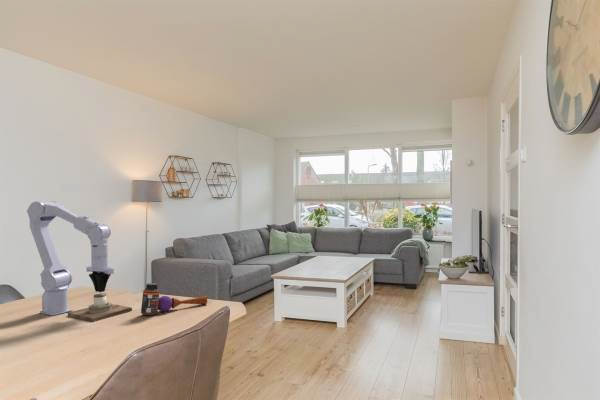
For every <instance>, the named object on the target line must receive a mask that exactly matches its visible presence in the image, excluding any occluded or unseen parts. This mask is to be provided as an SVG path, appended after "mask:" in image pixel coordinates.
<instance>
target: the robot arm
mask: <svg viewBox="0 0 600 400" xmlns="http://www.w3.org/2000/svg"><path fill="white" fill-rule="evenodd" d="M26 213H27V215H28V218H29V229H30V232H31V234H32V237H33V240H34V243H35V246H36V249H37V252H38V255H39V257H40V260H41V263H42V266H43V267H44V268H43V270H42V271H41V273H40V279H41V282H40V285H41V287H42V288H43V290H44V291H43V293H42V295H41V311H40V310H39V314H43V315H49V316H57V315H60V314H61V315H62V314H65V313H69V312H73V311H74V309H72V308H69V291H68V290H69V288H70V287H69V286H70V285H71V283H72V281H73V275H72V273H71V272H70V271H69V270H68V268H67V266H66V265H64V264H62V263H61V262H60V260H59V257H58V253H57V251H56V247H55V245H54V242H53V240H52V239H53V238H52V237H51V234H50V231H49V227H48V226H49V225H50V223H52V221H54V219H55V218H56V217H58V218H60V219H61V220H64V221H66V222H69V223H70V224H73V228H74V229H75V230H77V231H79V232H81V233H83V234H84V235H87V238H88V239H89V241H90V242H89V243H90V249H91V250H90V251H91V253H90V254H91V255H90V256H91V261H90V263H91V265H89V266H85V267H86V271H85V272H87V273H88V272H89V274H88V277H89V278H90V280H91V282H92V284H93V288H94V291H95V292H96V293H105V291H106V289H107V284H108V281H109V278H110V277H111V276H112V275H114V274H115V271H114V270H115V268H112V267H109V254H108V253H109V252H108V251H109V250H108V249H109V248H108V245H109V244H108V243H109V242H108V241H109V238H110V237H111V234H112V233H111V228H110V227H109V225H108V226H107V224H100V222H99V221H95V220H93V219H91V218H90V216H89V215H80V216H79V215H77V214H75V213H74V212H72V211H71V210H69V209H68V208H66V207H64V206H63V204H60V203H58V202H56V201H53V200H52V201H36V200H35V201H33V202H31V203H30V205H29V206H28V207H27V209H26Z"/></svg>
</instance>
